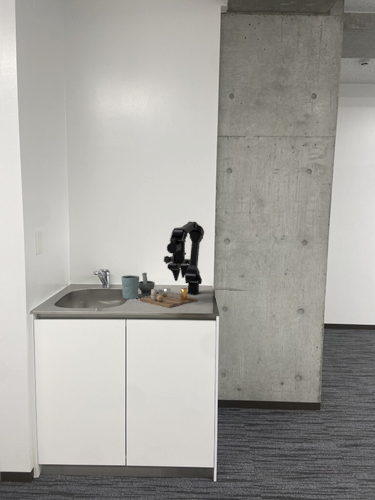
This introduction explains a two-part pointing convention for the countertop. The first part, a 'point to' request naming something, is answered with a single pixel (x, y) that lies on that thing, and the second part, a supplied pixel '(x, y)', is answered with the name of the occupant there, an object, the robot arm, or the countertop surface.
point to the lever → (174, 293)
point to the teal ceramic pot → (130, 286)
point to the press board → (166, 300)
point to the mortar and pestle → (146, 285)
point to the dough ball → (159, 297)
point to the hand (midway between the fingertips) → (179, 279)
